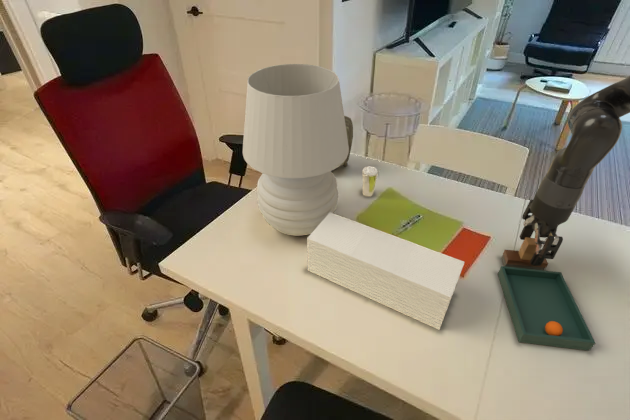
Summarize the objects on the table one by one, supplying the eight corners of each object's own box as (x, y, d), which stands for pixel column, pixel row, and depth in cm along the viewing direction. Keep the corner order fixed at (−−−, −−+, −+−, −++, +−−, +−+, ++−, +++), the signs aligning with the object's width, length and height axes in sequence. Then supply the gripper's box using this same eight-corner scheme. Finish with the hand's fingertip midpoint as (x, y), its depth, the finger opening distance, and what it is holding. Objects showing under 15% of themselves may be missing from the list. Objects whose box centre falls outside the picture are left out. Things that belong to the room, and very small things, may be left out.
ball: (558, 339, 75) (556, 324, 76) (567, 336, 72) (564, 320, 74) (543, 336, 75) (541, 321, 77) (551, 333, 73) (549, 318, 74)
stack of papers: (452, 294, 84) (464, 261, 77) (439, 330, 77) (451, 297, 70) (329, 244, 97) (330, 212, 90) (307, 270, 90) (307, 238, 83)
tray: (556, 280, 87) (561, 272, 86) (588, 350, 73) (595, 343, 72) (497, 273, 89) (501, 265, 87) (518, 342, 75) (523, 334, 73)
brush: (538, 261, 92) (551, 238, 87) (543, 272, 89) (557, 248, 84) (500, 257, 93) (511, 234, 88) (504, 268, 90) (515, 244, 85)
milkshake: (375, 200, 111) (379, 171, 105) (358, 196, 113) (361, 168, 107) (379, 191, 115) (383, 163, 108) (362, 188, 116) (365, 160, 110)
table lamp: (362, 218, 105) (376, 76, 80) (302, 270, 90) (297, 114, 65) (295, 185, 118) (290, 53, 92) (233, 225, 102) (207, 81, 77)
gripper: (590, 219, 72) (556, 275, 82) (563, 178, 83) (536, 232, 93) (549, 216, 73) (520, 272, 83) (527, 176, 84) (505, 229, 94)
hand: (529, 251), depth 88 cm, fingers open, 8 cm apart
